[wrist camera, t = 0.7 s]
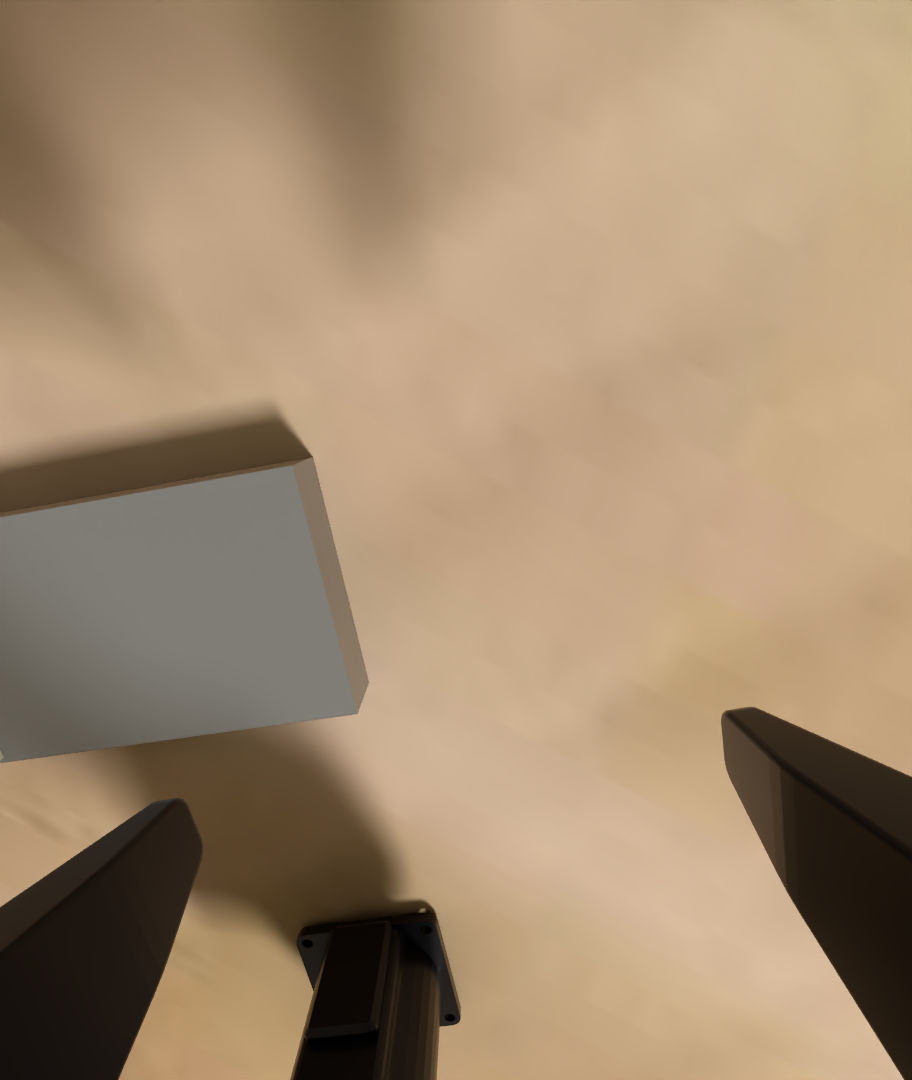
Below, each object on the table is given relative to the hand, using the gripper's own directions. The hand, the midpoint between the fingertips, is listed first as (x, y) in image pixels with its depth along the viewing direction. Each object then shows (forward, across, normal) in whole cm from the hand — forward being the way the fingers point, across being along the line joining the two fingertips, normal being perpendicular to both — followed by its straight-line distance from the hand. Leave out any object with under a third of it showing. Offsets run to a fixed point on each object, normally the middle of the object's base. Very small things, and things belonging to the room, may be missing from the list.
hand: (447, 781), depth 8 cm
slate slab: (+12, +13, 0) cm, 18 cm away
